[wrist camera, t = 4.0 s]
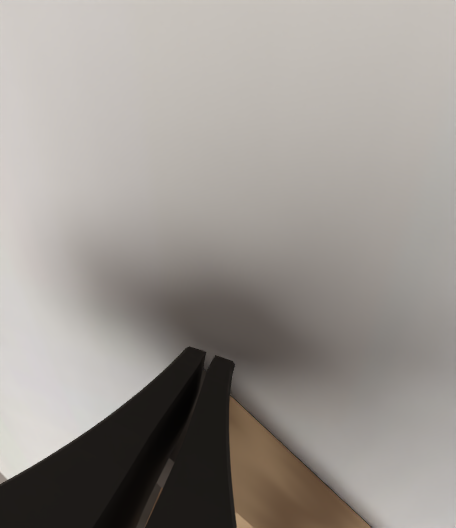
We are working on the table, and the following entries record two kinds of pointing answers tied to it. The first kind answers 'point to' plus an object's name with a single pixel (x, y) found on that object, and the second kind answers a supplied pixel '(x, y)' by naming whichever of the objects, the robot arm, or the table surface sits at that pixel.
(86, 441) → the robot arm
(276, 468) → the wooden bar grey ends
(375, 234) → the table surface
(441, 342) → the table surface
